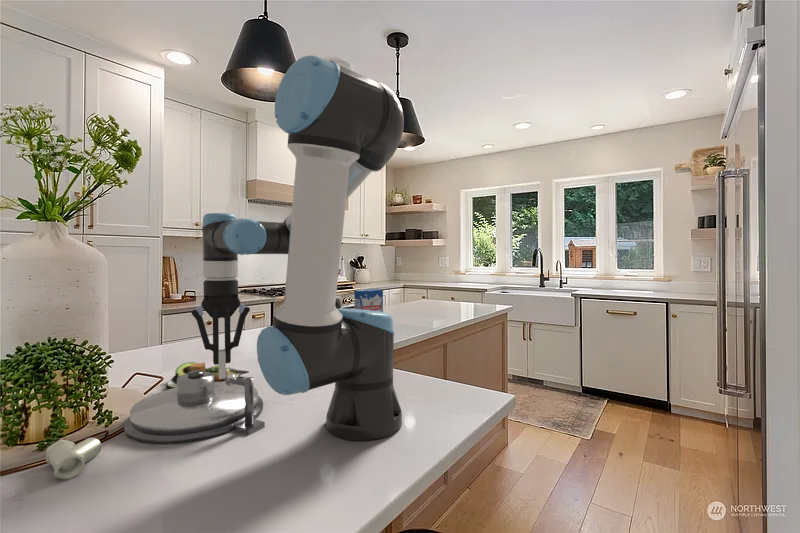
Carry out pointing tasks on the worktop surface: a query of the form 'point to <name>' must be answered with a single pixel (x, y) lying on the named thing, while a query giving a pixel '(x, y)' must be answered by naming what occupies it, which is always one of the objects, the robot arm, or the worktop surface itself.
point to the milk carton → (368, 299)
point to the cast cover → (195, 388)
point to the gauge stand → (246, 405)
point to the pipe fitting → (71, 456)
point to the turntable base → (185, 437)
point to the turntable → (189, 410)
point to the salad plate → (186, 368)
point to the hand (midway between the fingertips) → (222, 377)
